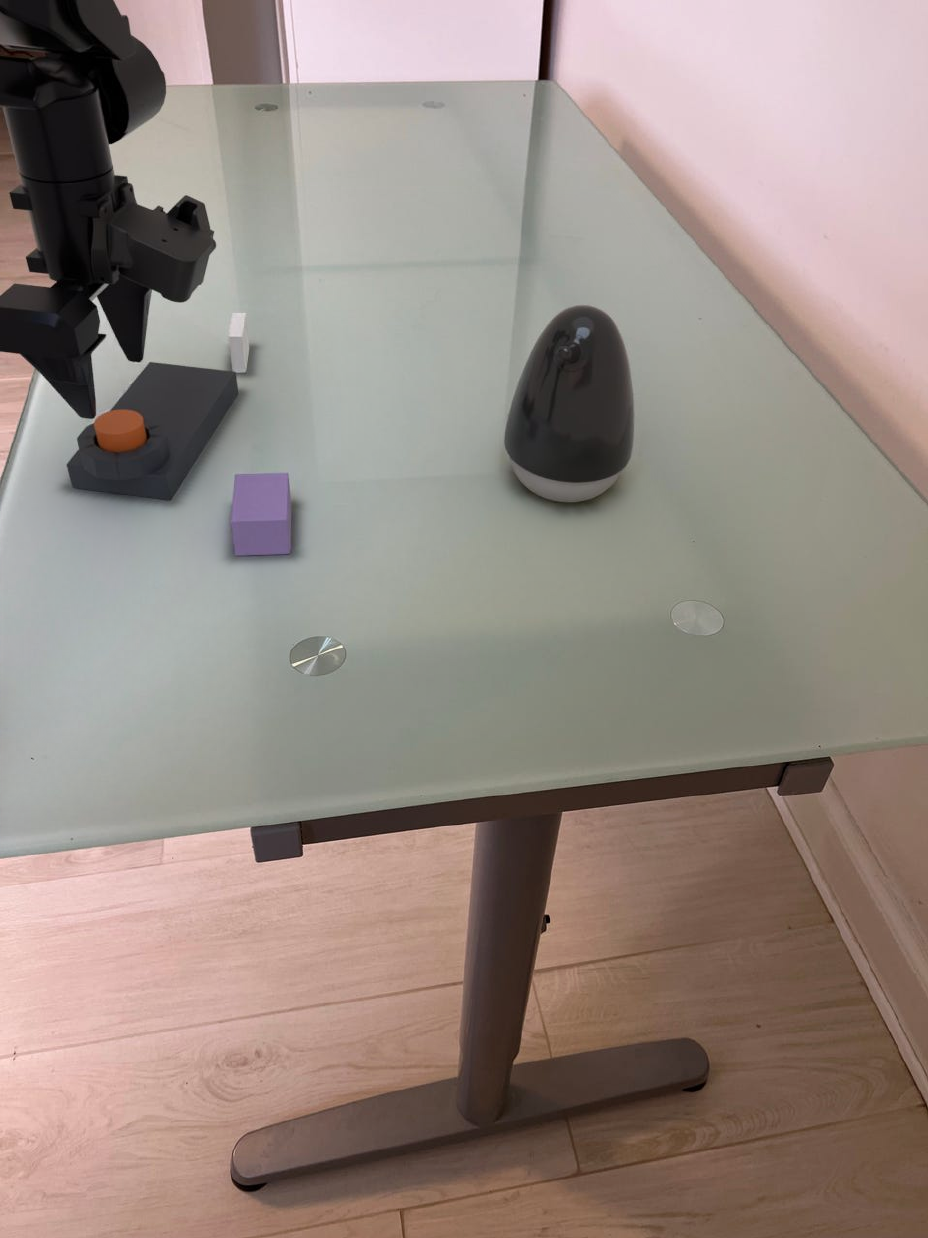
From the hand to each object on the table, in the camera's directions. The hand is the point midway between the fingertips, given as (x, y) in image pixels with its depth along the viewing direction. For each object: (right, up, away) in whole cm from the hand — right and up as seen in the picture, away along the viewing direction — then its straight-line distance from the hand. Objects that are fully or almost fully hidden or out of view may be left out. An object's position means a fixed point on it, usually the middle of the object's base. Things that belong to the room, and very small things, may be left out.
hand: (113, 387), depth 73 cm
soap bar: (+11, -10, +2) cm, 15 cm away
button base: (0, -2, +10) cm, 11 cm away
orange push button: (0, -3, +3) cm, 5 cm away
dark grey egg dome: (+34, -6, +8) cm, 36 cm away
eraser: (+5, +7, +21) cm, 23 cm away
